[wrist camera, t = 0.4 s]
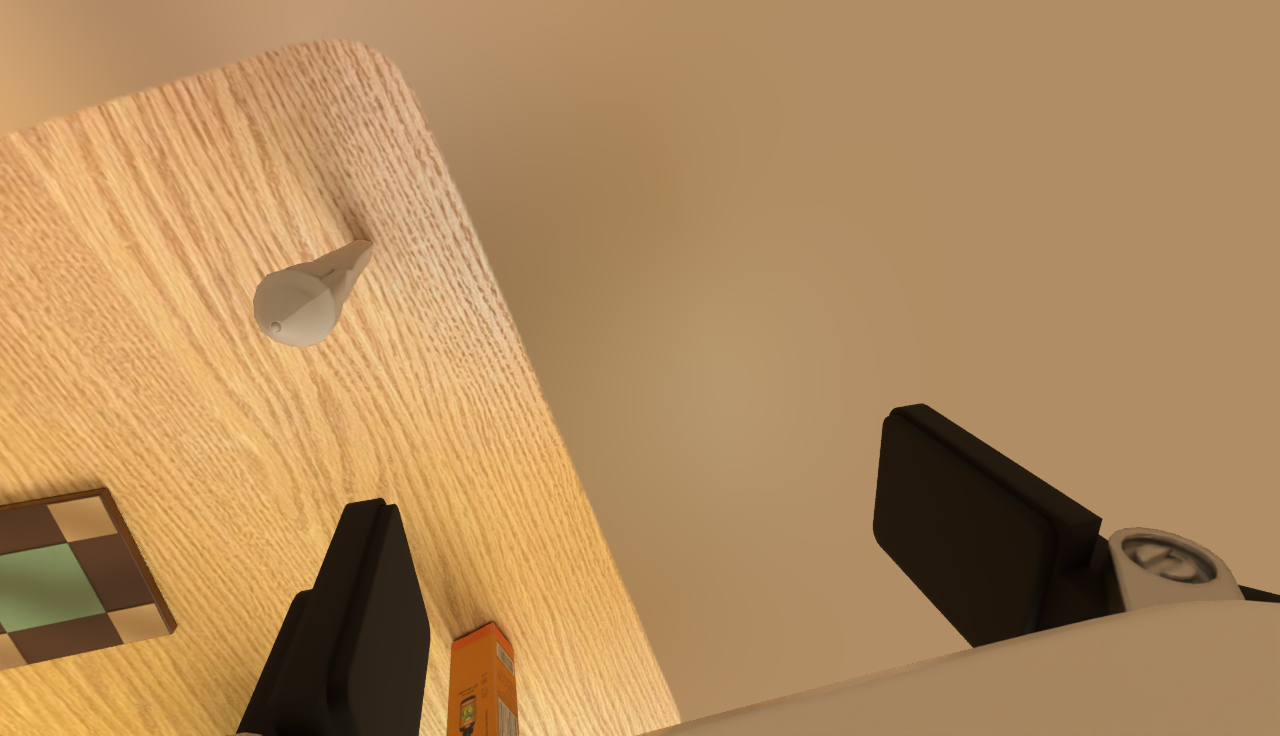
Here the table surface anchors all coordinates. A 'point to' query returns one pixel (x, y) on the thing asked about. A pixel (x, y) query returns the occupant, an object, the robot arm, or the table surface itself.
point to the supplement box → (482, 686)
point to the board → (72, 581)
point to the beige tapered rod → (309, 295)
